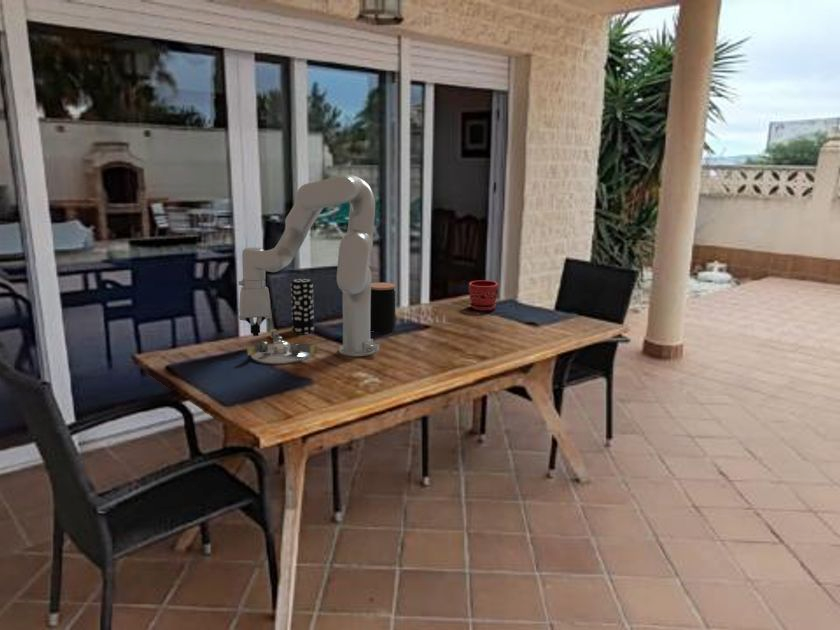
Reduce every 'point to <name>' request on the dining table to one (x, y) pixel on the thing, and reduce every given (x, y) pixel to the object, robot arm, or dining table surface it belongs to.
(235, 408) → the dining table surface
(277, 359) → the tribrach plate
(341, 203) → the robot arm
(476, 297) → the plant pot
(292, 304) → the spotted tube
